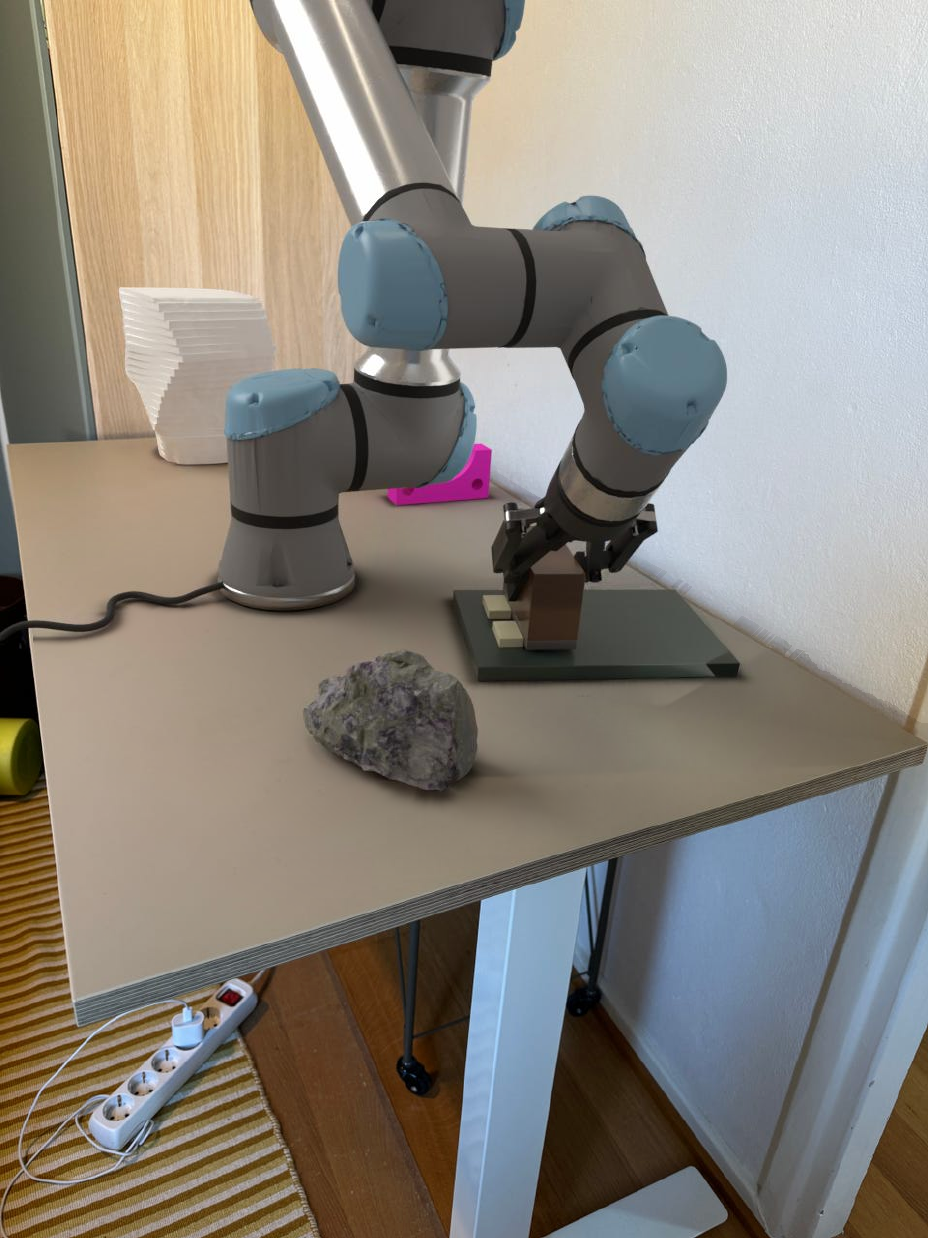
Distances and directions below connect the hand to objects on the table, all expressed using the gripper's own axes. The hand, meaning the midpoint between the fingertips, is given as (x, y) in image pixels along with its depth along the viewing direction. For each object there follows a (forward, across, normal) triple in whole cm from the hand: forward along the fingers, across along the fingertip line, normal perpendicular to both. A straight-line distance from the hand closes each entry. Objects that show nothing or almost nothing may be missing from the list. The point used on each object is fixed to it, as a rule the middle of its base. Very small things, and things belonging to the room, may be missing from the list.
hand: (538, 588), depth 90 cm
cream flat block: (0, +4, +5) cm, 7 cm away
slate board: (+3, -5, +4) cm, 7 cm away
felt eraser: (+2, 0, +3) cm, 3 cm away
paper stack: (+52, +39, -44) cm, 78 cm away
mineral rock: (-12, +16, +19) cm, 28 cm away
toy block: (+37, +5, -30) cm, 48 cm away
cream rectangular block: (+4, +4, +1) cm, 6 cm away
